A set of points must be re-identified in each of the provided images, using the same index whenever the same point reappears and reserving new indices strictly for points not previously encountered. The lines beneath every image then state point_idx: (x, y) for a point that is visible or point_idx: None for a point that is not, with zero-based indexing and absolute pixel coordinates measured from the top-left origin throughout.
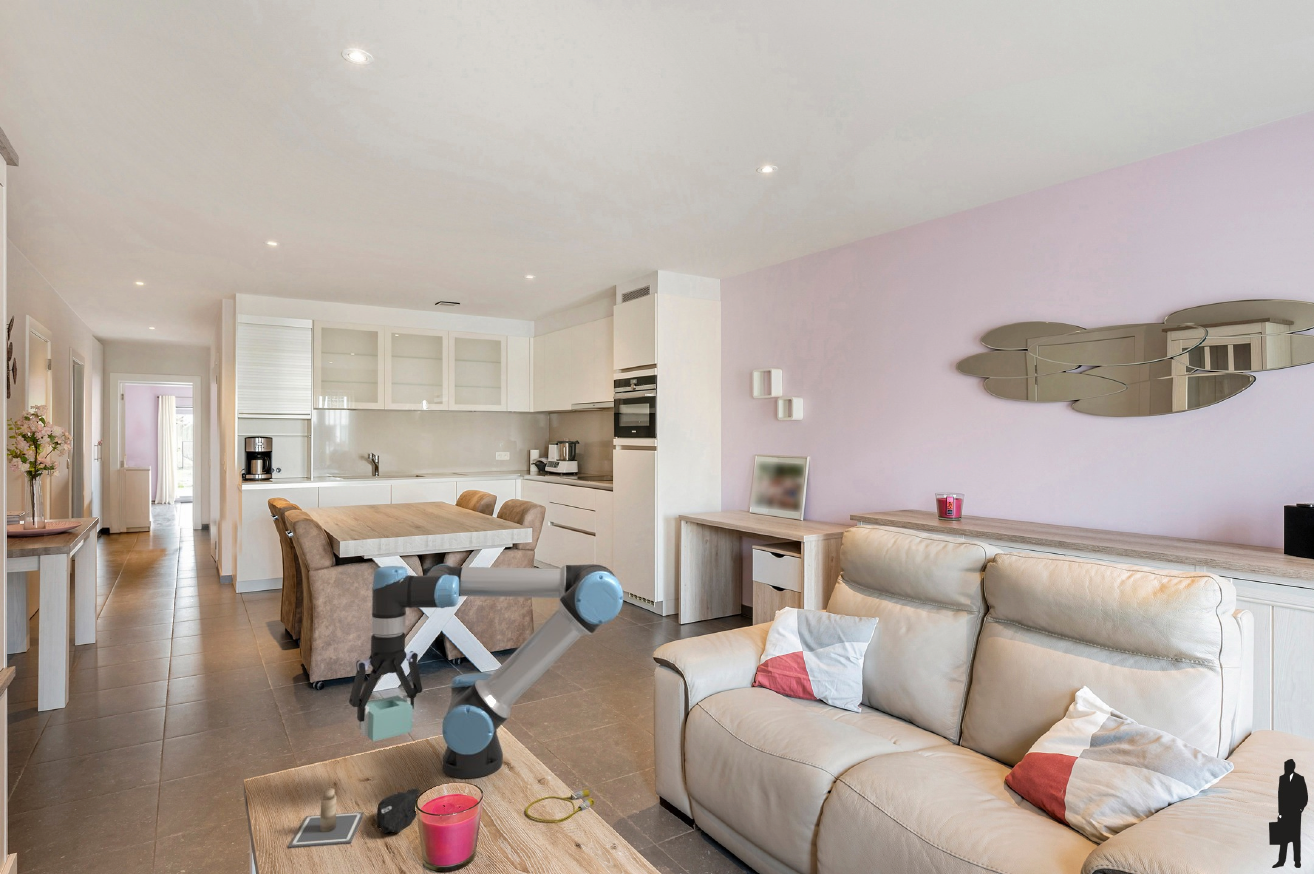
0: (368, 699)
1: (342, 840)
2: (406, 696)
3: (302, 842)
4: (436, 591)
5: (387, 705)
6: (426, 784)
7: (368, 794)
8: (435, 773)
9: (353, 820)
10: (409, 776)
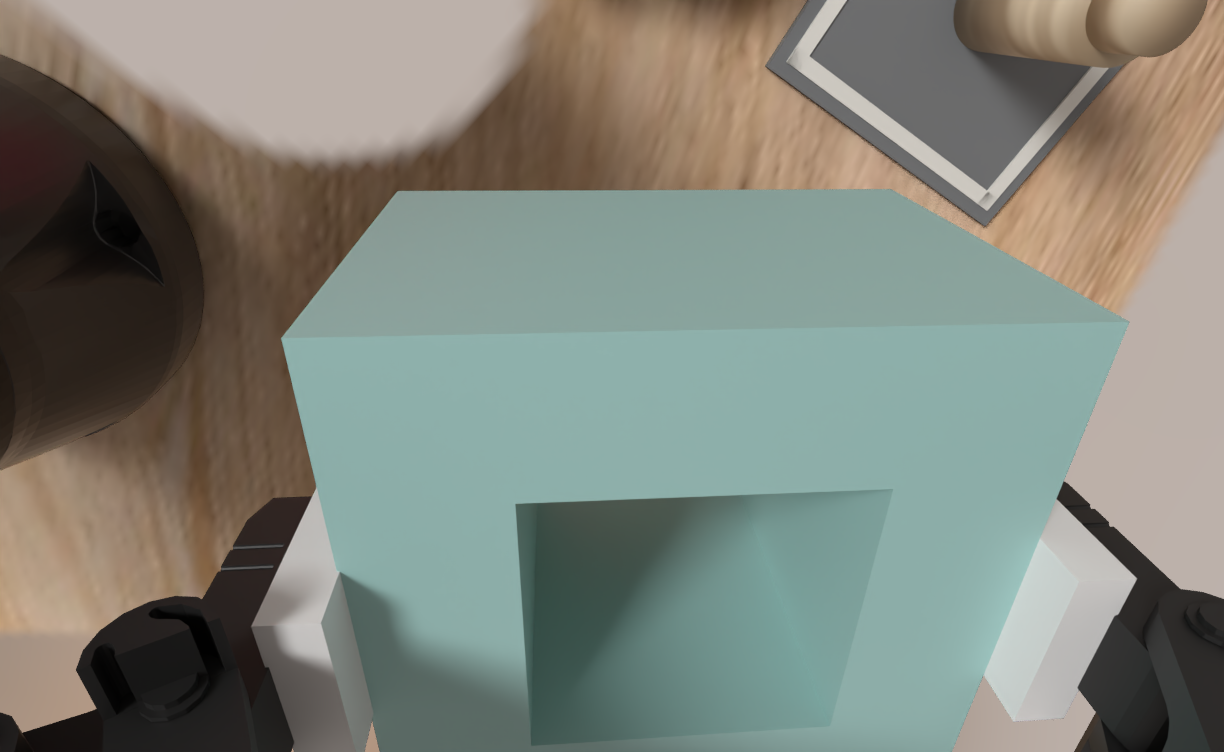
0: (1204, 722)
1: None
2: (310, 722)
3: None
4: None
5: (603, 675)
6: (340, 183)
7: None
8: (256, 285)
9: (854, 2)
10: None
